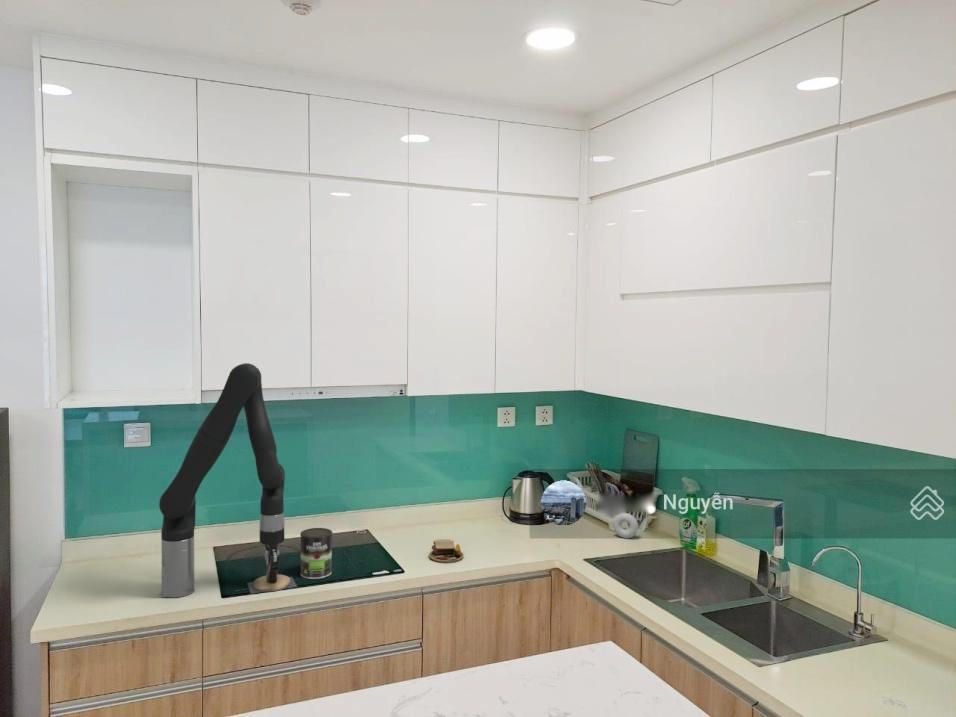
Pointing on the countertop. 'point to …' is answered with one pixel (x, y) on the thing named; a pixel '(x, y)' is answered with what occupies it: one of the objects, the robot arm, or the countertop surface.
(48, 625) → the countertop surface
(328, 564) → the coffee can
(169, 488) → the robot arm
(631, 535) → the donut
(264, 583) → the lid
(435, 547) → the toy sandwich meal
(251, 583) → the mat
